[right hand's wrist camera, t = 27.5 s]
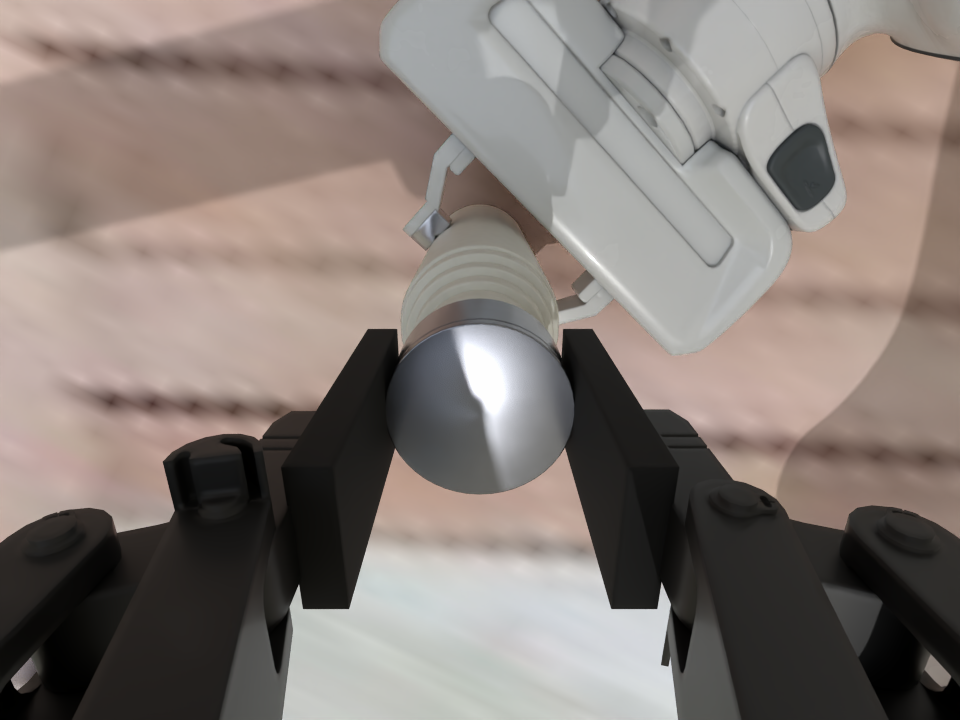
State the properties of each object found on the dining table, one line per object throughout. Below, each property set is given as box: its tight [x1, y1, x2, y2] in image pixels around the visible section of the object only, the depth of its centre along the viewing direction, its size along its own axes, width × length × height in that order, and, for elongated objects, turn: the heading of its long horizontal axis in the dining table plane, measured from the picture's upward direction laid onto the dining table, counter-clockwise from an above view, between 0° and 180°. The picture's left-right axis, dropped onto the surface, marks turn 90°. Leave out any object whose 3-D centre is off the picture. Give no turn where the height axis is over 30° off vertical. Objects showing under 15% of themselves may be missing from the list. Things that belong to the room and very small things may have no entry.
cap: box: [385, 298, 575, 494], centre depth 13 cm, size 4×4×2 cm
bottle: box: [401, 204, 559, 346], centre depth 23 cm, size 6×6×20 cm
